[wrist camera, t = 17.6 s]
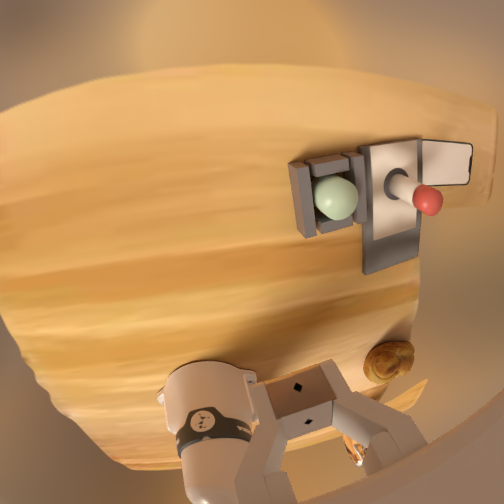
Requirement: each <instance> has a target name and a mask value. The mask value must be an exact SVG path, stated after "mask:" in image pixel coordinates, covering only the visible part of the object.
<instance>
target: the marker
mask: <svg viewBox="0 0 504 504" xmlns="http://www.w3.org/2000/svg"><path fill="white" fill-rule="evenodd" d="M388 189H389V191H390V193H391V194H393V195H395V196H396V197H398V198H400V199H402V200H404V201H406V202H407V203H409V204H411V205H413V206H414V207H415V208H416V209H418V210H420V211H422V212H423V213H425V214H427V215H429V216H434V215H436V214H437V213H438V212H439V211H440V209H441V207H442V204H443V196H442V194H441V192H440V191H438V190H436V189H434V188H432V187H430V186H428V185H425V184H421V183H419V182H417V181H415V180H413V179H410V178H408V177H406V176H404V175H401V174H395V175H393V176H392V177H391V178H390V180H389V183H388Z"/></svg>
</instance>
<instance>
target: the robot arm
mask: <svg viewBox="0 0 504 504" xmlns="http://www.w3.org/2000/svg"><path fill="white" fill-rule="evenodd" d="M157 400H158V401H159V402H160V403H161V404H162V405H163V406H165V414H166V421H167V428H168V430H169V431H171V432H172V433H173V434H174V435H176V448H177V451H178V455H179V457H180V458H181V461H182V469H183V477H184V484H185V491H186V494H187V497H188V498H189V500H190V501H191V502H192V503H193V504H504V389H503V390H502V391H501V392H499V393H498V394H497V395H496V396H495V397H494V398H492V399H491V400H490V401H489V402H487V403H486V404H485V405H484V406H482V407H481V408H480V409H479V410H477V411H476V412H475V413H473V414H472V415H471V416H469V417H468V418H467V419H465V420H464V421H463V422H461V423H460V424H458V425H457V426H455V427H454V428H453V429H451V430H450V431H448V432H447V433H445V434H444V435H442V436H441V437H439V438H437V439H436V440H434V441H433V442H431V443H429V444H428V443H427V441H426V440H425V438H424V437H423V435H422V434H421V432H420V431H419V429H418V428H417V426H416V424H415V423H414V421H413V420H412V418H411V417H410V416H409V415H406V414H404V413H402V412H400V411H397V410H395V409H393V408H391V407H388V406H386V405H384V404H382V403H380V402H378V401H375V400H373V399H371V398H369V397H367V396H365V395H363V394H361V393H359V392H357V391H355V392H353V393H352V391H351V390H350V388H349V386H348V384H347V383H346V381H345V379H344V378H343V376H342V374H341V372H340V371H339V369H338V367H337V366H336V364H335V362H334V361H333V360H332V359H329V360H327V361H324V362H321V363H319V364H315V365H312V366H309V367H306V368H304V369H301V370H298V371H295V372H292V373H291V374H287V375H284V376H281V377H277V378H274V379H270V380H267V381H264V382H259V383H257V376H256V372H254V371H251V370H242V369H238V368H236V367H234V366H232V365H229V364H227V363H223V362H216V361H202V362H195V363H191V364H188V365H185V366H183V367H181V368H179V369H177V370H176V371H174V372H173V373H172V374H171V375H170V376H169V377H168V379H167V381H166V384H165V387H164V388H163V389H162V390H161V391H159V392H158V393H157ZM252 421H253V422H255V421H259V422H260V425H256V427H255V429H254V432H253V434H252V432H251V428H252ZM331 425H332V426H333V427H334V428H336V429H337V430H339V431H340V432H342V433H343V434H345V435H347V436H348V437H350V438H351V439H353V440H354V441H356V442H358V443H359V444H361V445H363V446H364V447H366V448H367V451H366V454H365V456H364V459H363V461H362V464H361V465H362V467H363V468H364V471H365V473H366V475H367V477H365V478H363V479H360V480H358V481H356V482H354V483H351V484H349V485H346V486H344V487H341V488H339V489H336V490H333V491H331V492H328V493H325V494H322V495H320V496H317V497H314V498H311V499H308V500H304V501H302V502H297V500H296V497H295V494H294V492H293V489H292V486H291V483H290V481H289V478H288V475H287V472H284V471H281V470H280V471H279V469H280V466H281V463H282V459H283V456H284V452H285V448H286V445H287V440H290V439H293V438H296V437H299V436H302V435H305V434H307V433H310V432H313V431H316V430H319V429H322V428H325V427H328V426H331Z"/></svg>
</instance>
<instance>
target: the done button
mask: <svg viewBox="0 0 504 504" xmlns="http://www.w3.org/2000/svg"><path fill="white" fill-rule="evenodd" d="M311 189H312V197H313V205H314V206H315V207H317V208H318V209H319V210H320V211H321V212H323V213H324V214H325V215H326V216H327V217H329V218H330V219H333V220H342V219H345V218H347V217H348V216H350V215H351V214H352V213H353V212H354V210H355V209H356V207H357V204H358V191H357V189H356V187H355V186H354V185H353V184H352V183H351V182H349V181H347V180H345V179H344V178H342V177H340V176H338V175H336V174H334V173H333V174H329V175H324V176H319V177H315V178H314V179H313V181H312V182H311Z"/></svg>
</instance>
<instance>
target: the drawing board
mask: <svg viewBox="0 0 504 504" xmlns="http://www.w3.org/2000/svg"><path fill="white" fill-rule="evenodd" d="M358 154H361V155H363V156H364V166H365V182H366V203H367V221H366V222H363V223H362V236H363V271H362V272H363V273H364V274H365V276H366V275H369V274H371V273H374V272H377V271H380V270H383V269H385V268H388V267H391V266H393V265H396V264H399V263H402V262H404V261H407V260H409V259H412V258H415V257H417V256H418V250H419V239H420V227H421V211H420V210H418V209H416V208H415V207H414V206H413V205H411V204H409V203H407V202H406V201H404V200H402V199H400V198H398V197H396V196H395V195H393V194H391V193H390V191H389V189H388V183H389V180H390V178H391V177H392V176H393V175H395V174H401V175H404V176H406V177H408V178H410V179H413V180H415V181H417V182H419V183H421V184H422V179H423V162H422V139H419V138H415V139H407V140H399V141H392V142H384V143H378V144H371V145H364V146H358Z"/></svg>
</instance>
